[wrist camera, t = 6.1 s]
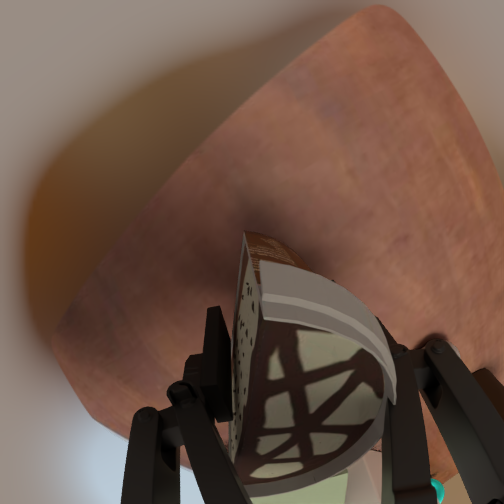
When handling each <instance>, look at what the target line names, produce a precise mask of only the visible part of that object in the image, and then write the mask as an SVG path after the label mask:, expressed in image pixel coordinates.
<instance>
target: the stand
mask: <svg viewBox="0 0 504 504" xmlns="http://www.w3.org/2000/svg"><path fill="white" fill-rule="evenodd" d="M347 480H348V470H347V469H345V470H343V471H342V472H340V473H338V474H336V475H335V476H333V477H331V478H329V479H326V480H324V481H322V482H320V483H317V484H315V485H312V486H309V487H306V488H303V489H300V490H297V491H293V492H289V493H285V494H280V495H275V496H269V497H261V498H250V499H251V501H252V503H253V504H344V503H345V496H346V488H347Z"/></svg>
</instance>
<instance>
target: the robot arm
mask: <svg viewBox="0 0 504 504" xmlns="http://www.w3.org/2000/svg"><path fill="white" fill-rule="evenodd" d="M330 281H332V282H334V280H330ZM334 283H335V282H334ZM375 317H376V316H375ZM376 319H377V320H378V322H379V324H380V326H381V328H382V331H383V333H384V335H385V337H386V340H387V343H388V346H389V349H390V353H391V356H392V359H393V362H394V366H395V372H396V379H397V382H396V395H397V396H396V405H393V404H392V402H391V401H390V399H389V398H388V396H387V401H386V409H385V418H384V431H383V436H382V437H381V439H382V492H381V504H437V492H436V489H435V487H434V486H433V485H432V484H431V475H430V464H429V455H428V447H427V439H426V432H425V425H424V419H423V413H422V407H421V402H420V397H419V391H420V393H421V395H422V397H423V399H424V401H425V403H426V405H427V407H428V409H429V411H430V412H431V414H432V416H433V418H434V420H435V422H436V424H437V426H438V428H439V430H440V432H441V435H442V437H443V439H444V441H445V443H446V445H447V447H448V449H449V451H450V454H451V456H452V458H453V460H454V462H455V465H456V467H457V469H458V471H459V474H460V476H461V478H462V481H463V483H464V486H465V488H466V490H467V493H468V495H469V498H470V500H471V502H472V504H504V421H503V420H502V418H501V416H500V415H499V413H498V412H497V410H496V409H495V407H494V405H493V404H492V402H491V401H490V399H489V398H488V396H487V395H486V394H485V392H484V391H483V389H482V388H481V386H480V385H479V383H478V382H477V381H476V379H475V378H474V376H473V375H472V374H471V372H470V371H469V369H468V368H467V367H466V365H465V364H464V363H463V361H462V360H461V359H460V357H459V356H458V355H457V353H456V352H455V351H454V349H453V348H452V347H451V346H450V344H449V343H448V342H447V341H445V340H442V339H432V340H430V341H428V342H427V344H426V345H425V348H424V349H416V350H408V348H407V347H406V346H404V345H401V344H397V342H396V341H395V340H394V338H393V337H392V336H391V334H390V333H389V332H388V330H387V329H385V326H384V325H383V324H382V323H381V321H380V320H379V319H378V317H376ZM183 375H184V376H183V380H181V381H177V382H175V383H173V384H172V385H171V386H169V388H168V390H167V397H168V398H169V400H170V402H171V403H172V406H171V407H168V408H166V409H163V410H160V411H157V410H156V408H153V407H144V408H141V409H139V410H138V411H137V412H136V413H135V414H134V417H133V420H132V426H131V432H130V438H129V444H128V450H127V457H126V464H125V472H124V479H123V487H122V496H121V504H180V446H182V445H185V448H186V451H187V455H188V458H189V461H190V464H191V467H192V470H193V473H194V475H195V478H196V481H197V484H198V487H199V489H200V492H201V495H202V497H203V500H204V503H205V504H253V503H252V501H251V499H250V497H249V495H248V493H247V491H246V490H245V488H244V486H243V484H242V482H241V480H240V478H239V476H238V473H237V471H236V469H235V467H234V465H233V463H232V461H231V459H230V457H229V455H228V452H227V450H226V448H225V446H224V444H223V441H222V439H221V437H220V434H219V432H218V430H217V428H216V426H215V418H216V420H217V422H218V423H220V422H227V421H233V402H232V368H231V340H230V336H229V333H228V330H227V327H226V324H225V321H224V318H223V314H222V311H221V308H220V306H215V307H210V308H208V309H207V318H206V327H205V336H204V346H203V353H201V354H195V355H190V356H189V358H188V359H187V360H186V362H185V368H184V374H183ZM418 390H419V391H418Z"/></svg>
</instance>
